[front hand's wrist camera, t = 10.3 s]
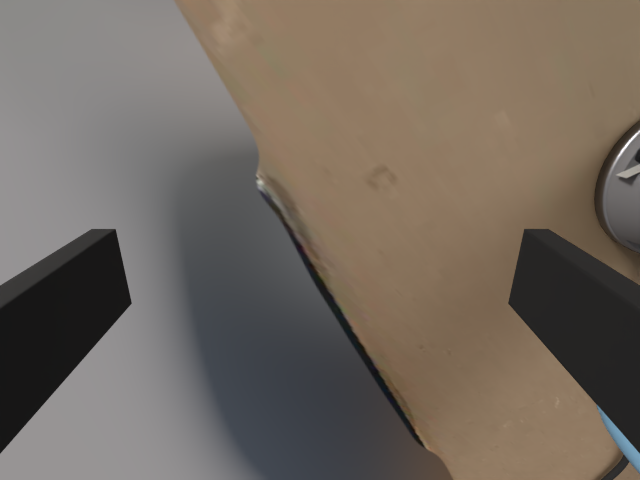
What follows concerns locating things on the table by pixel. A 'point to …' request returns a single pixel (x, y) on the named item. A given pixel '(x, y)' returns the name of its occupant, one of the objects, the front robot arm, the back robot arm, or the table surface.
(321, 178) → the table surface
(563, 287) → the front robot arm
